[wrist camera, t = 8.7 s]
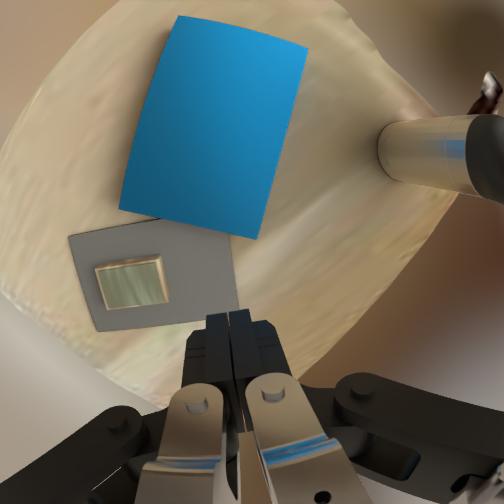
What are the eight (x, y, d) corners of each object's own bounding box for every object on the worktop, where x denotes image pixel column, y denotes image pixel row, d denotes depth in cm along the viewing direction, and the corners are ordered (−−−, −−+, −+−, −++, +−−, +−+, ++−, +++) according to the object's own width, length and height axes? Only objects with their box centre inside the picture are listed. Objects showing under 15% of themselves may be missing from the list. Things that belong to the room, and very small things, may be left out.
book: (118, 211, 31) (175, 13, 25) (127, 206, 35) (178, 28, 29) (262, 241, 34) (313, 47, 28) (256, 233, 38) (302, 58, 32)
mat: (225, 208, 37) (225, 209, 37) (239, 312, 42) (240, 314, 41) (70, 235, 35) (68, 236, 34) (98, 330, 39) (97, 332, 39)
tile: (158, 259, 35) (94, 269, 34) (168, 303, 37) (106, 311, 36) (160, 254, 37) (99, 263, 36) (170, 295, 39) (110, 303, 38)
